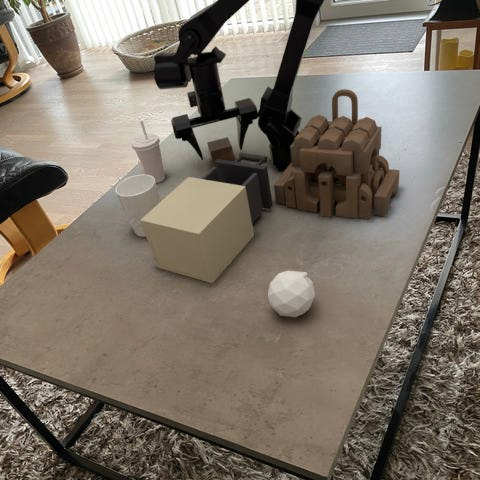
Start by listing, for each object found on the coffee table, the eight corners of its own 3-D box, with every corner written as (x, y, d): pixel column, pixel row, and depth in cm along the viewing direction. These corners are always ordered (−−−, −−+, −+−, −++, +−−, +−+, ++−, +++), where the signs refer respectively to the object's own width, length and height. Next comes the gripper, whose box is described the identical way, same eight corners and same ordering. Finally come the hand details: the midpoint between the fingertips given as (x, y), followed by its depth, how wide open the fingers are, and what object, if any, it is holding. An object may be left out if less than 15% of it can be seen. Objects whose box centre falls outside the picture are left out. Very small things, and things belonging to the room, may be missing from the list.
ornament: (274, 291, 80) (300, 254, 76) (306, 321, 78) (334, 284, 74) (250, 299, 75) (276, 259, 71) (283, 332, 73) (312, 293, 68)
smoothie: (165, 185, 112) (147, 126, 102) (140, 186, 114) (120, 129, 104) (173, 171, 116) (157, 113, 106) (149, 172, 118) (130, 115, 108)
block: (231, 157, 116) (227, 137, 113) (235, 166, 113) (231, 145, 109) (211, 162, 116) (207, 142, 113) (214, 171, 113) (210, 151, 109)
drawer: (237, 185, 105) (229, 147, 99) (283, 193, 99) (279, 153, 93) (188, 234, 95) (177, 194, 89) (237, 245, 90) (229, 204, 83)
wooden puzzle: (271, 209, 98) (258, 118, 85) (299, 172, 106) (291, 84, 93) (381, 224, 88) (385, 124, 75) (402, 182, 97) (409, 85, 84)
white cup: (139, 244, 97) (122, 201, 90) (127, 226, 102) (110, 184, 95) (174, 228, 99) (160, 185, 92) (161, 212, 104) (147, 169, 97)
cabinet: (201, 223, 98) (188, 176, 91) (254, 235, 93) (245, 186, 85) (157, 267, 91) (139, 220, 83) (212, 283, 85) (198, 233, 77)
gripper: (242, 62, 108) (252, 130, 119) (161, 83, 107) (179, 149, 118) (253, 78, 100) (263, 150, 111) (165, 101, 99) (184, 170, 110)
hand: (221, 154), depth 113 cm, fingers open, 9 cm apart
